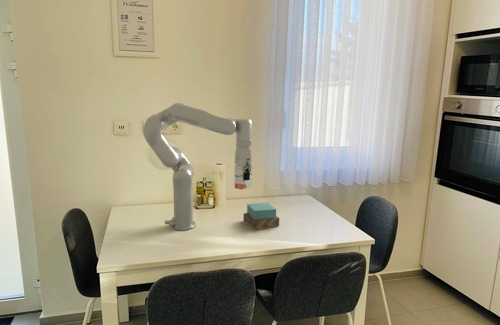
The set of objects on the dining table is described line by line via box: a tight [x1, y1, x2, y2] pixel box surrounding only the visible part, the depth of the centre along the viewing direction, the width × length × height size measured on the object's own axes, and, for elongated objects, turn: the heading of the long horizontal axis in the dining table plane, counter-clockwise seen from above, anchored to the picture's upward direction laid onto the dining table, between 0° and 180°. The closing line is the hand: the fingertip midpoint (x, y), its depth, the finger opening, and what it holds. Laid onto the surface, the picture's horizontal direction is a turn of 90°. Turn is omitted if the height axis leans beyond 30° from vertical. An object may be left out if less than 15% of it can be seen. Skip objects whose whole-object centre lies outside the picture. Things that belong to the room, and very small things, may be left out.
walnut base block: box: [242, 212, 280, 231], centre depth 198 cm, size 14×14×5 cm
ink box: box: [234, 164, 253, 190], centre depth 188 cm, size 9×5×12 cm, turn 142°
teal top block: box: [246, 202, 277, 220], centre depth 197 cm, size 12×12×5 cm
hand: (243, 178), depth 189 cm, fingers closed on ink box, 6 cm apart
